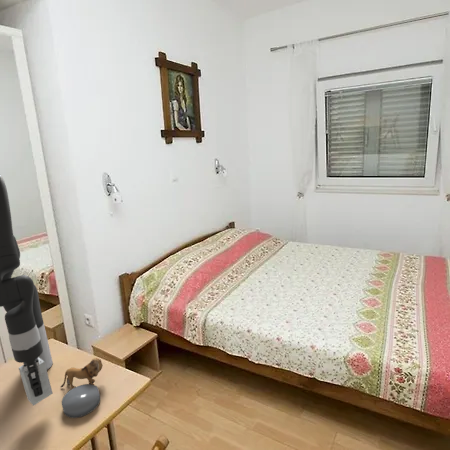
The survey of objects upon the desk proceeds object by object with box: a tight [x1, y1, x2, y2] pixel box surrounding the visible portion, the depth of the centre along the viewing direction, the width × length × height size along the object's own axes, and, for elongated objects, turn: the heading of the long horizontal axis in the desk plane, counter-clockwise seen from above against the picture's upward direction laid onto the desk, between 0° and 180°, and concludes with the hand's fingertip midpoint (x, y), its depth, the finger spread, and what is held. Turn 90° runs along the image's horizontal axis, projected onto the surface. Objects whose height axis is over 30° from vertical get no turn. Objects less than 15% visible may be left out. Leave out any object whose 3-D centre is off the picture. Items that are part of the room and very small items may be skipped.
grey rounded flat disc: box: [61, 383, 101, 419], centre depth 110 cm, size 11×11×3 cm
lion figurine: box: [60, 357, 103, 389], centre depth 118 cm, size 15×5×9 cm, turn 102°
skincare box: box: [18, 357, 53, 407], centre depth 105 cm, size 6×4×12 cm
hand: (38, 389), depth 106 cm, fingers closed on skincare box, 5 cm apart
